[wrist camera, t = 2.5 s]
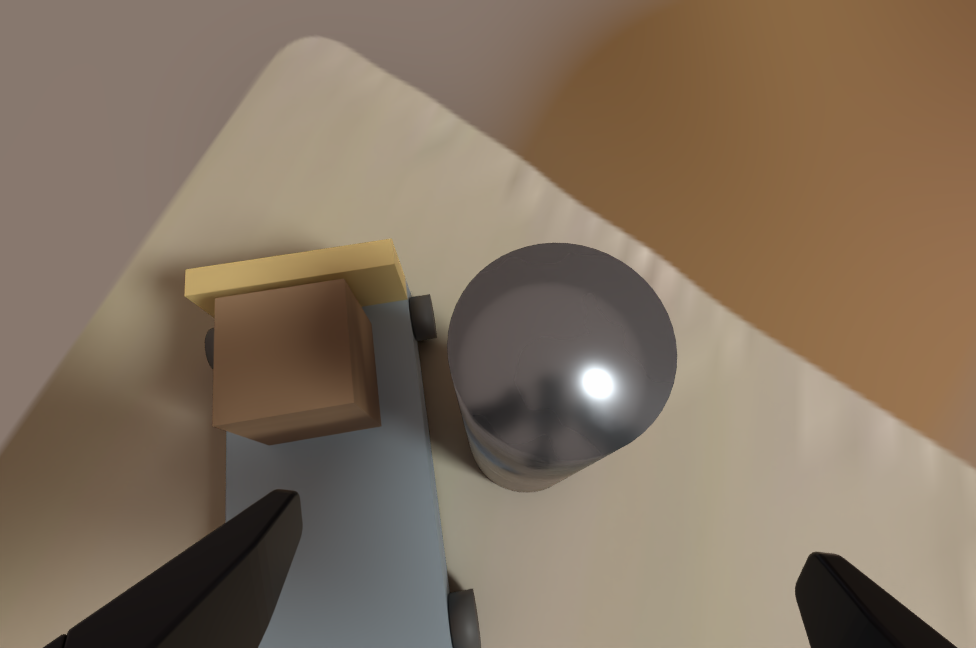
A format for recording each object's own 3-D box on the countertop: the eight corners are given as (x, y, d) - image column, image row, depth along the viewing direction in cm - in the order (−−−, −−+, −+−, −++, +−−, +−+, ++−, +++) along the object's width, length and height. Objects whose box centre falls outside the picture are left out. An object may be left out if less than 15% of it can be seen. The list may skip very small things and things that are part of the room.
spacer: (594, 402, 21) (699, 284, 10) (560, 510, 19) (642, 499, 9) (492, 363, 21) (495, 216, 11) (451, 466, 20) (410, 407, 9)
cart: (484, 663, 17) (482, 713, 13) (223, 715, 17) (127, 786, 12) (430, 292, 22) (416, 235, 18) (227, 324, 22) (159, 273, 17)
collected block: (381, 426, 18) (354, 402, 15) (269, 445, 18) (212, 426, 14) (371, 324, 20) (344, 278, 16) (267, 340, 20) (214, 298, 16)
